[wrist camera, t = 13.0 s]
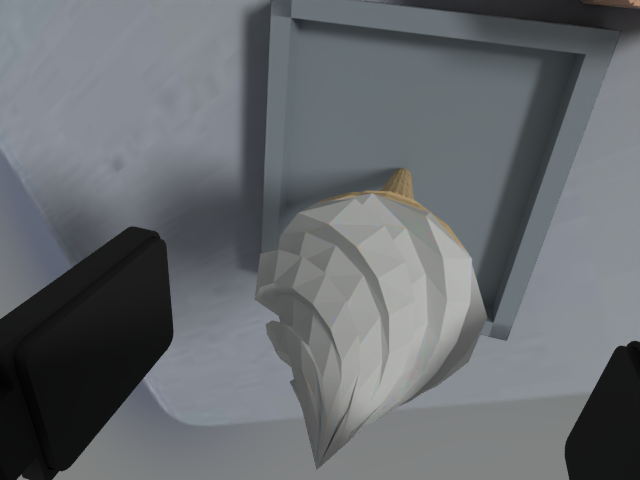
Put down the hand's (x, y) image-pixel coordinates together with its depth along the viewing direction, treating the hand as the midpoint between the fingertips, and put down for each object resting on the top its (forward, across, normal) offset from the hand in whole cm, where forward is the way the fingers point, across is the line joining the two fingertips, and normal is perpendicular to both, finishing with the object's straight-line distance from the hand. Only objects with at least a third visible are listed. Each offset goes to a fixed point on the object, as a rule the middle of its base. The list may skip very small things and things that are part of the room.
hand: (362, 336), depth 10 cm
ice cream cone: (+12, 0, +1) cm, 12 cm away
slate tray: (+13, 0, +1) cm, 13 cm away
